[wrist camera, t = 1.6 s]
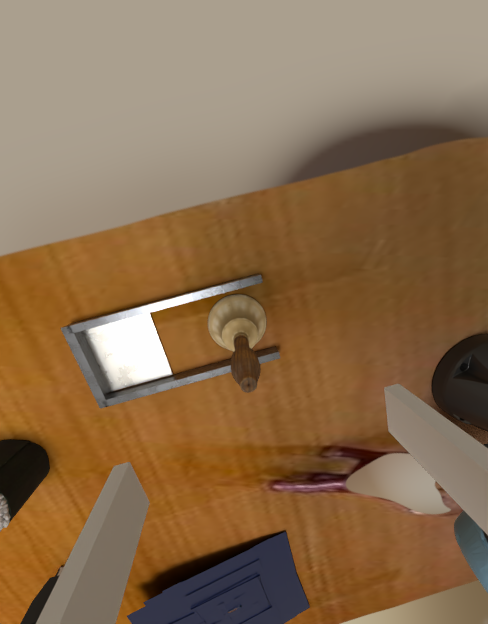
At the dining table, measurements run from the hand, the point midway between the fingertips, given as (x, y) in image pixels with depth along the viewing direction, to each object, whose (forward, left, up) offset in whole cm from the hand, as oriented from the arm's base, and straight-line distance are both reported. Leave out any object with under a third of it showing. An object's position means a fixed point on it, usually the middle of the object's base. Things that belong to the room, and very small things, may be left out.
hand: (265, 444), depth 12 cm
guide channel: (0, +8, -22) cm, 23 cm away
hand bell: (0, 0, -22) cm, 22 cm away
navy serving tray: (-54, +16, -22) cm, 61 cm away
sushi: (-12, +37, -22) cm, 45 cm away
